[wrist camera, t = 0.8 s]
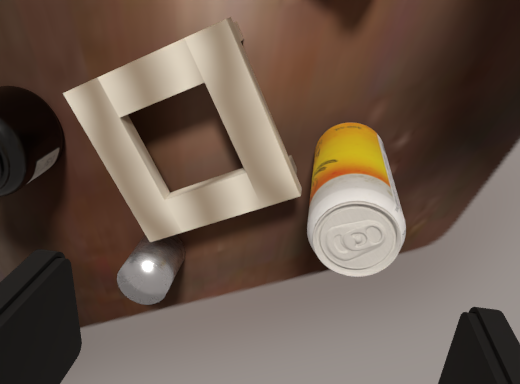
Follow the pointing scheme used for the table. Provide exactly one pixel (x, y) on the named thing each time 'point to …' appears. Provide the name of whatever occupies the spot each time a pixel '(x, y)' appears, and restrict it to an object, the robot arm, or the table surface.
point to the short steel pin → (151, 269)
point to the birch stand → (230, 110)
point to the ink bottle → (26, 138)
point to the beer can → (354, 203)
